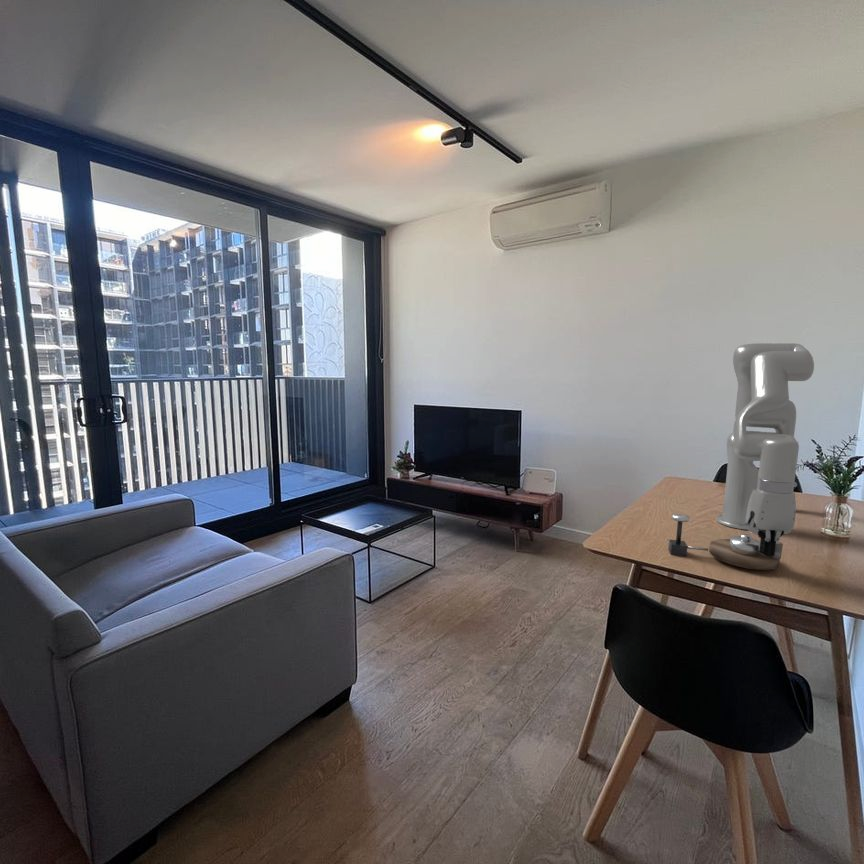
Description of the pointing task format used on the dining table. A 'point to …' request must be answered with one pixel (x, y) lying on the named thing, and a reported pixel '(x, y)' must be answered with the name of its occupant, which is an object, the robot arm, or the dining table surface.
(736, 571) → the dining table surface
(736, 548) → the lid
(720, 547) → the turntable
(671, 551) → the lever with ball knob
